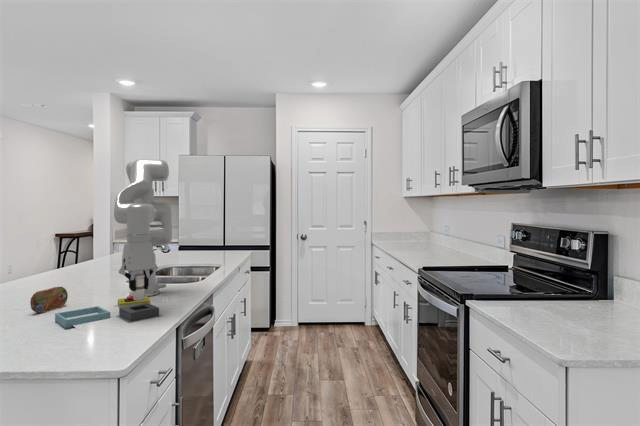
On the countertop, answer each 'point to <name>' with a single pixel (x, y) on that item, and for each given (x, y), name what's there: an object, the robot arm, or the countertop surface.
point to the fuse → (139, 287)
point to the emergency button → (131, 301)
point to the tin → (49, 299)
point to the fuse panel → (138, 312)
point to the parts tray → (69, 323)
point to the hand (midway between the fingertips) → (139, 289)
